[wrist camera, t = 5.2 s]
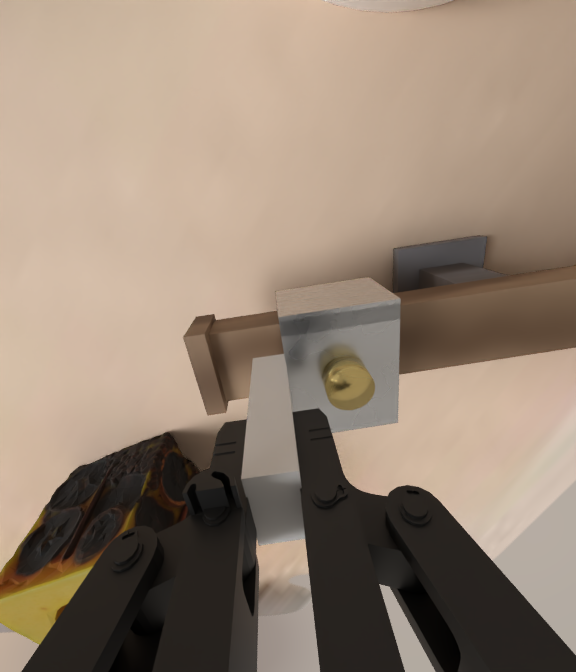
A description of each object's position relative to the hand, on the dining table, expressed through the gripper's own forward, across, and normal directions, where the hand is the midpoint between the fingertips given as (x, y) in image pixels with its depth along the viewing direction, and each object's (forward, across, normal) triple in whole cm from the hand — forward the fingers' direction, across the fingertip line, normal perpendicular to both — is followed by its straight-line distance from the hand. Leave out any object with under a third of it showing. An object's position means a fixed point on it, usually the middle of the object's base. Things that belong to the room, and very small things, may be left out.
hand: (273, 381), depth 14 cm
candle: (+9, -14, -15) cm, 22 cm away
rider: (+3, +3, 0) cm, 5 cm away
